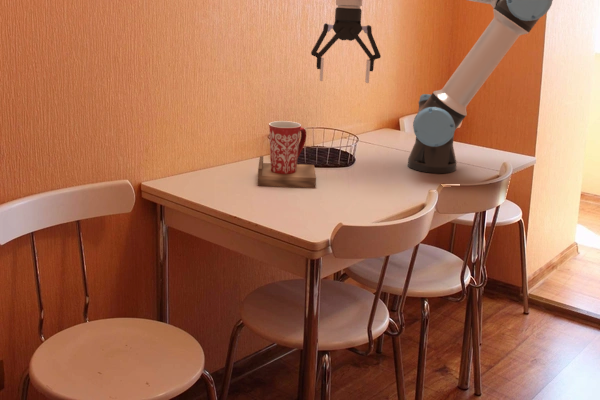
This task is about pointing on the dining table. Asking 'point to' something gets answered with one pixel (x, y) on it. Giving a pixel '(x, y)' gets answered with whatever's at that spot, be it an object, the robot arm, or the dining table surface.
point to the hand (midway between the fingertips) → (344, 81)
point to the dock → (286, 176)
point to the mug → (285, 145)
